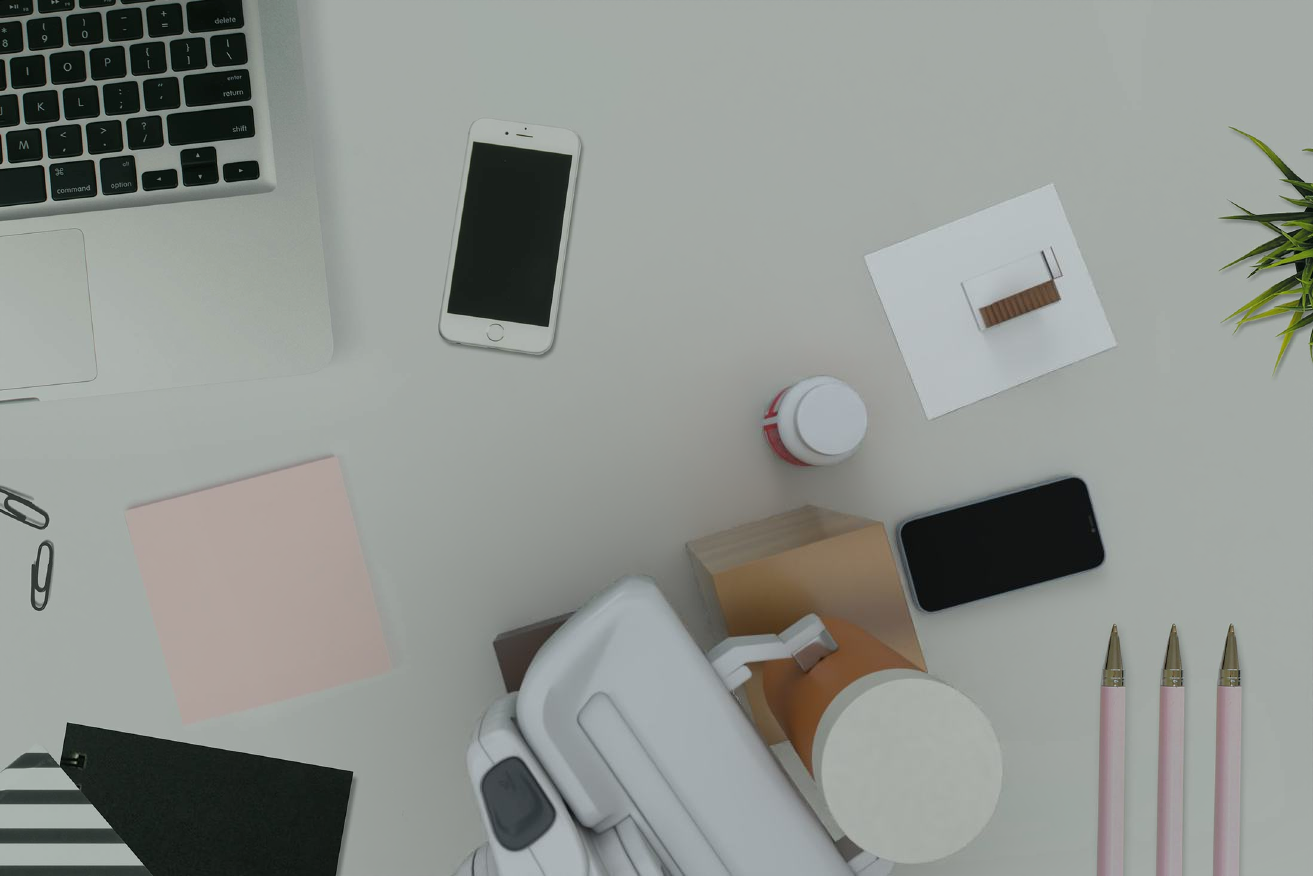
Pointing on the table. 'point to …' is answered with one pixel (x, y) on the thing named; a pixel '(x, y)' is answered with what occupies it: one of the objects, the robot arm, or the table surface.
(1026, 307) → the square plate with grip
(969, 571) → the smartphone
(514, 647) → the walnut block
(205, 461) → the table surface
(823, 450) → the pill bottle
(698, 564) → the oak stand
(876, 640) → the amber bottle
